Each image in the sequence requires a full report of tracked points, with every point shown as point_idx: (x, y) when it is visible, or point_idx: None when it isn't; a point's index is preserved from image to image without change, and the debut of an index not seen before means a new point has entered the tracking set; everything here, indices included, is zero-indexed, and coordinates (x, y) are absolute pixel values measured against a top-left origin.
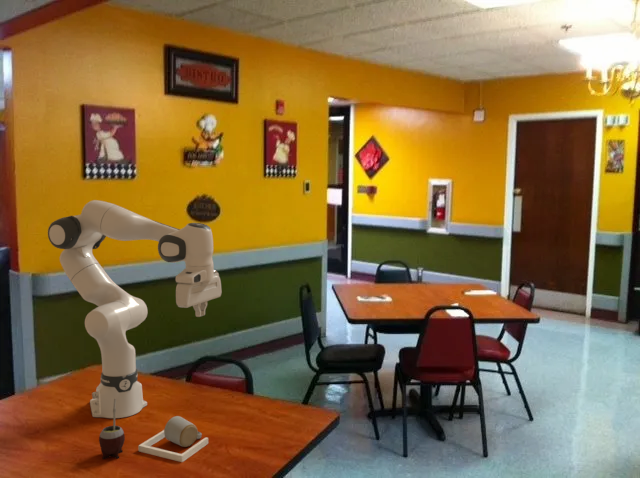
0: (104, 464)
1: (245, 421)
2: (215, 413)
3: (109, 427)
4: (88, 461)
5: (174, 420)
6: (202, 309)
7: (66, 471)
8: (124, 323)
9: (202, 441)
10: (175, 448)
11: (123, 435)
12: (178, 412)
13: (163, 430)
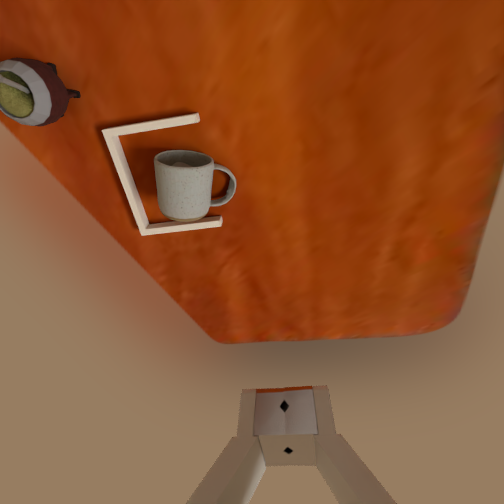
0: None
1: (344, 218)
2: (353, 128)
3: (14, 72)
4: None
5: (167, 180)
6: (319, 459)
7: None
8: None
9: (203, 227)
10: None
11: (49, 119)
12: (312, 23)
13: (183, 117)
